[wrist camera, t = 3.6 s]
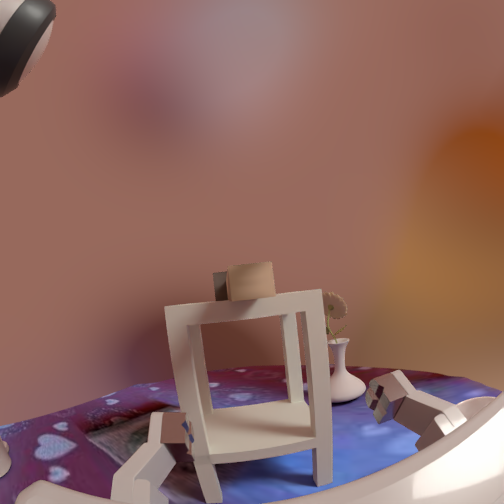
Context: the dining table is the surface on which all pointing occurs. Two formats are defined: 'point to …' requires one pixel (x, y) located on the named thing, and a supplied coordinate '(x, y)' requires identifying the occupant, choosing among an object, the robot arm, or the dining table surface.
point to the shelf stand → (259, 415)
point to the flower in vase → (340, 354)
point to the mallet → (245, 282)
